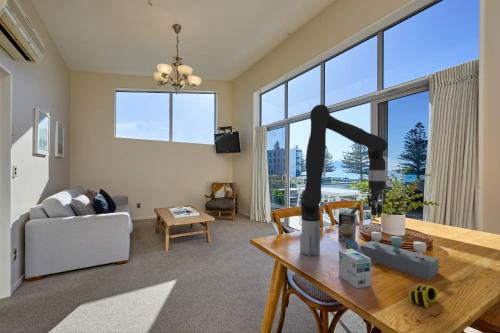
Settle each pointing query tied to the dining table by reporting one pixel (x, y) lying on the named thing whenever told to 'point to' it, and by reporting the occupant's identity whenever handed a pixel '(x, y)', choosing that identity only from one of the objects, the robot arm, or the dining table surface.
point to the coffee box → (347, 227)
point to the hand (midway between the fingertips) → (376, 214)
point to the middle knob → (396, 243)
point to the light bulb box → (355, 268)
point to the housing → (402, 260)
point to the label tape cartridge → (353, 246)
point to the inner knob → (376, 238)
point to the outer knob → (419, 249)
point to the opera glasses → (423, 295)
